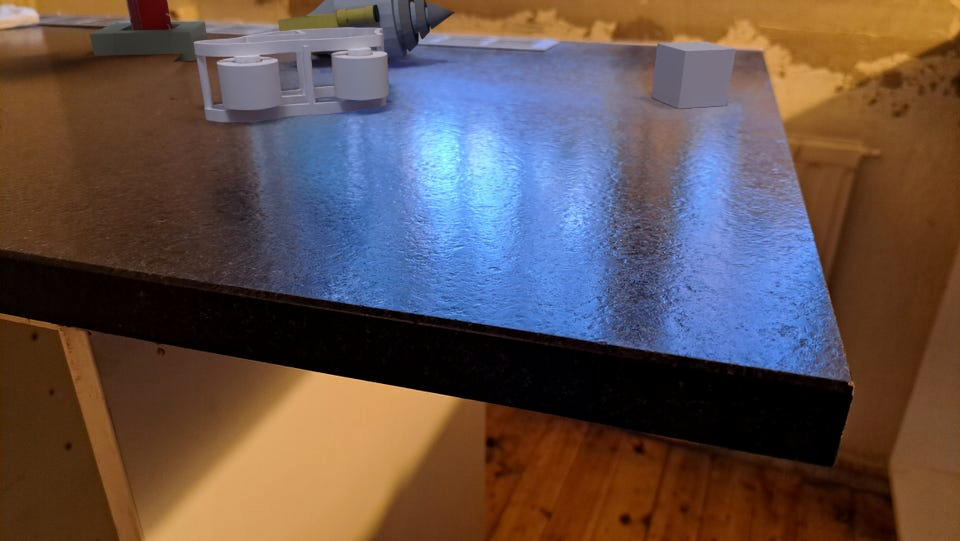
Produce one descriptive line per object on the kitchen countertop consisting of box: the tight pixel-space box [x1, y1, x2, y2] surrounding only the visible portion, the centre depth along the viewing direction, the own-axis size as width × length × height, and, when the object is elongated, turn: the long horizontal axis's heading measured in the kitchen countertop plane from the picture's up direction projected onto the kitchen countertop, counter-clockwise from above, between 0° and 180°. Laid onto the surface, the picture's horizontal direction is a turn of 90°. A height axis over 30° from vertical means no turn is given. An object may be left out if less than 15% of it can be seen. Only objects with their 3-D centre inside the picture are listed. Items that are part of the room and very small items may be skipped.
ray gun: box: [277, 0, 456, 65], centre depth 99 cm, size 11×24×20 cm
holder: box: [89, 20, 209, 63], centre depth 105 cm, size 13×13×4 cm
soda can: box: [125, 0, 172, 31], centre depth 103 cm, size 6×6×12 cm
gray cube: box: [651, 40, 737, 110], centre depth 78 cm, size 6×6×6 cm
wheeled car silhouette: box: [193, 27, 390, 123], centre depth 73 cm, size 20×11×7 cm, turn 115°
